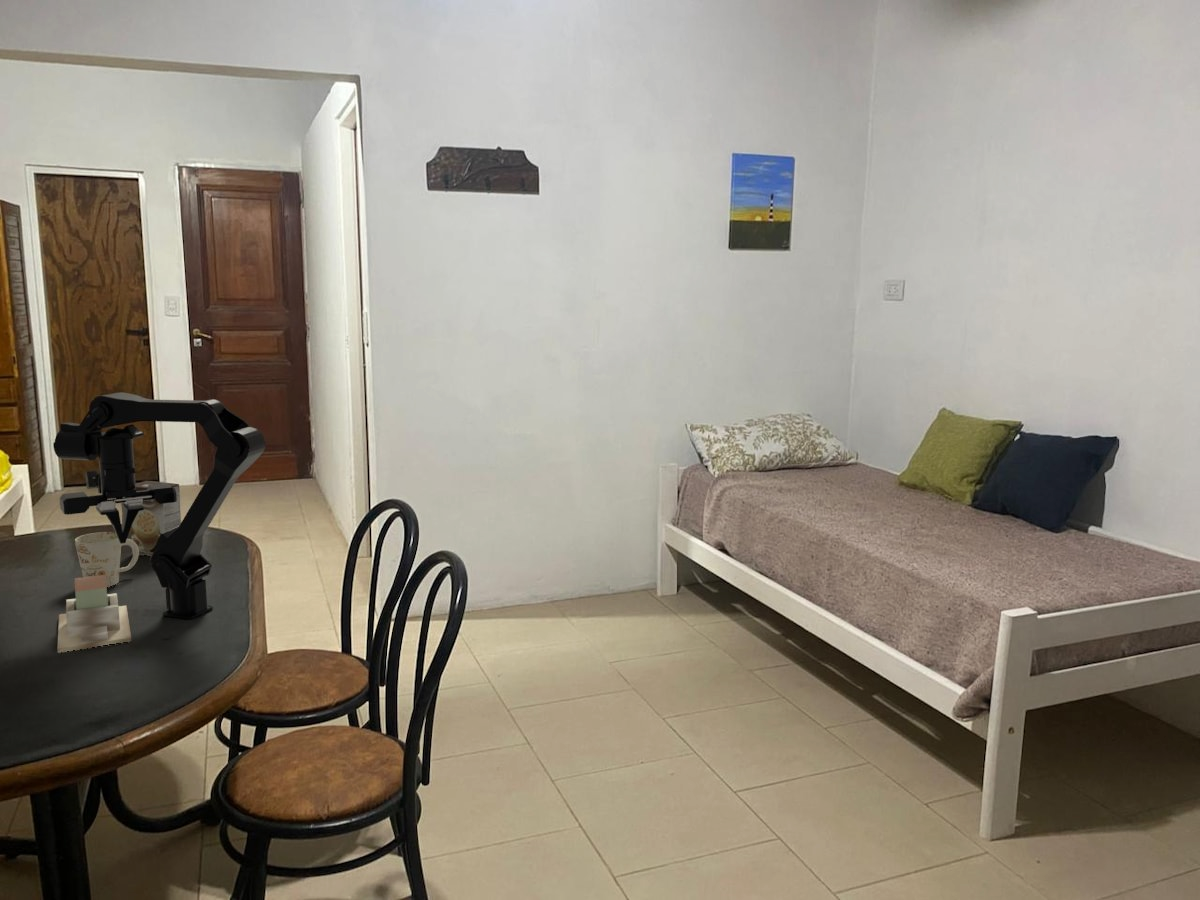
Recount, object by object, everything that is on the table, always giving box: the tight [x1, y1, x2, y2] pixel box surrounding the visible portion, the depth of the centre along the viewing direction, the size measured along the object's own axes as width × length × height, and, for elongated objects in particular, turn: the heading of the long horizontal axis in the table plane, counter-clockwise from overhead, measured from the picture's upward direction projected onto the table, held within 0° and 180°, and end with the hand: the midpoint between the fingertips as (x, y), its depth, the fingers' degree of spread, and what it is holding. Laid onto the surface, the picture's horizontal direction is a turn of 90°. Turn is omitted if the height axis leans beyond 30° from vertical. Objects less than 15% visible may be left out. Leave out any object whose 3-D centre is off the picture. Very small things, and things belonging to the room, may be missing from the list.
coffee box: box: [130, 480, 182, 557], centre depth 208 cm, size 9×6×16 cm
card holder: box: [57, 592, 132, 654], centre depth 163 cm, size 11×18×5 cm, turn 29°
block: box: [74, 575, 108, 610], centre depth 162 cm, size 5×5×8 cm
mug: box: [74, 531, 140, 588], centre depth 188 cm, size 8×13×10 cm, turn 152°
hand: (122, 542), depth 172 cm, fingers closed
